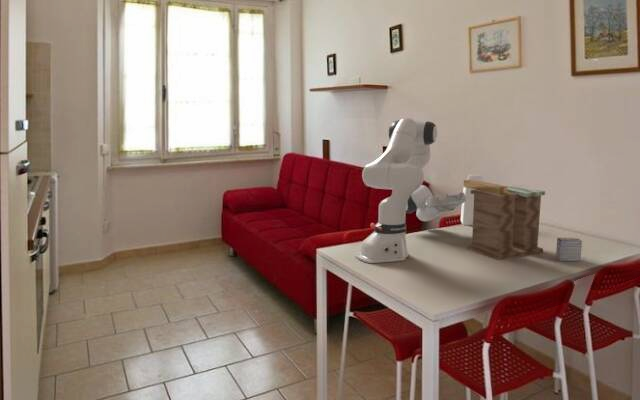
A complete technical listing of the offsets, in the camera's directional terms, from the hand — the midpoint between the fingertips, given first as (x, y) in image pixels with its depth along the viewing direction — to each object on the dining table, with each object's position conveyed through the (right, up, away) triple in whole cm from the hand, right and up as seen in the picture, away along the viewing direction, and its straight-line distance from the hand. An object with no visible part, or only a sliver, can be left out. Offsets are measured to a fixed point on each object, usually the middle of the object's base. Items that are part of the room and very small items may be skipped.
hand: (454, 194), depth 220 cm
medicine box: (+37, -27, -31) cm, 55 cm away
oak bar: (+7, +2, -18) cm, 20 cm away
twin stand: (+17, -24, -17) cm, 34 cm away
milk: (+20, -15, +35) cm, 43 cm away
